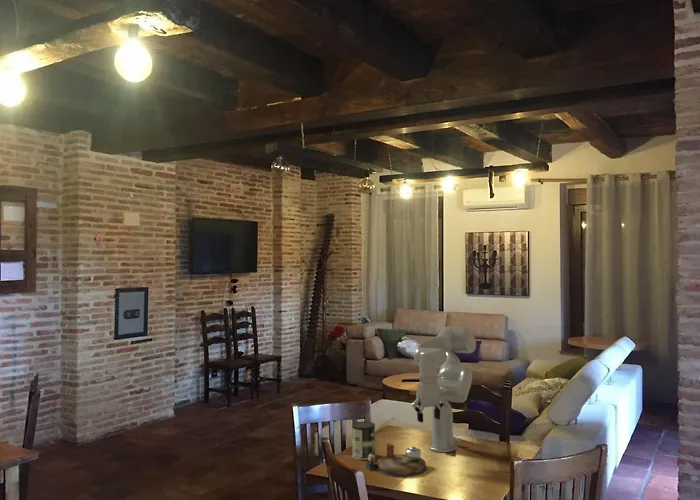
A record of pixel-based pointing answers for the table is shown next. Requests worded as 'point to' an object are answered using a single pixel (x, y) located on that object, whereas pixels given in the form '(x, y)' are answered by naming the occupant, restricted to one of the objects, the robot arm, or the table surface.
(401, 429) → the table surface
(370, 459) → the small bust figurine
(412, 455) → the cover
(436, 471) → the table surface
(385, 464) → the turntable
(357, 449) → the coffee can
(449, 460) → the table surface
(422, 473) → the turntable base
